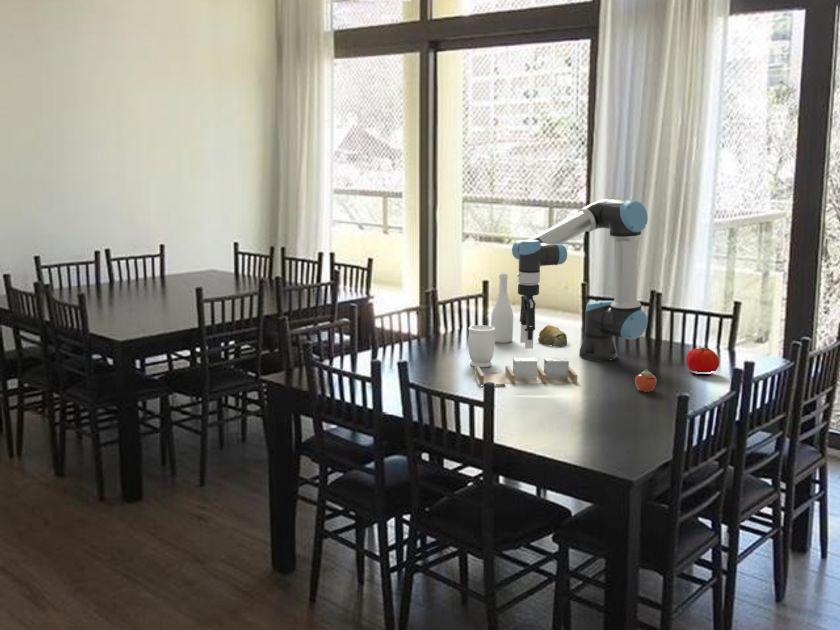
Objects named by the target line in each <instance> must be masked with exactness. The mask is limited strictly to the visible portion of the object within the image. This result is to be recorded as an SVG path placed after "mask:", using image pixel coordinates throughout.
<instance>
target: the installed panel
mask: <svg viewBox="0 0 840 630" xmlns="http://www.w3.org/2000/svg"><path fill="white" fill-rule="evenodd" d="M543 360H544V361H543V362H544V363H543V372H544V373H545V374H546V380H568V368H569V367H570V366H569V365H570V364H569V362H570V361H569V360H568V359H567V357H560V358H559V357H557V358H556V357H553V358H552V357H550V358H549V357H548V358H544V359H543Z"/></svg>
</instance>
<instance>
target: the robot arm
mask: <svg viewBox="0 0 840 630" xmlns="http://www.w3.org/2000/svg"><path fill="white" fill-rule="evenodd" d="M648 219H649V218H648V211H647V209H646V207H645V206H644V205H643V204H642V202H640V201H637V200H632V199H623V198H622V199H621V198H608V197H607V198H603V199H600V200H597V201H594V202H592V203H590V204H588V205H586V206H584V207H582V208H580V209H578V211H577V214H575V215H574V214H573V216H571V217H568V218H566V219H565V220H562V221H561V222H559V223H557V224H555V225H553V226H552V227H550V228H547V229H546V230H544V231H541V232H540V233H538V234H536V235H534V236H532V237H531V238H529V239H521V240H520V239H519V240H517V241H515V242H514V243H513V245H512V246H511V247H512V248H511V254H512V256H513V257H514V259H516V260H518V273H517V274H516V277H517V278H518V285H517V294H518V295H520V296H521V297H520V303H521V304H520V315H519V323H520V336H519V337H520V339H519V340H520V342H519V343H521V344H522V343H523V344H524V349H526V350H527V349H534V331H535V330H536V301H535V299H534V297H535V296H538V295H539V294H540V284H539V283H540V279H541V277H540V276H541V267H543V266H545V267H546V266H558V265H563V264H564V263H565V262H566V261H567V260H568V259H567V258H568V250H567V248H566V246H565V245H563V244H565V243H567V242H568V241H570V240H572V239H574V238H575V237H578V236H580V235H581V234H583V233H585V232H589V233H590V232H593V231H594V230H599V229H609V236H610V237H611V238H612V240H613V258H614V259H613V271H614V275H613V277H614V279H613V281H614V284H613V288H614V297H613V298H614V300H594V301H589V302H587V303H586V307H585V312H584V313H585V314H584V317H585V318H584V321H585V322H584V339H583V341H582V343H581V346H580V348H579V353H578V354H579V357H580V358H581V359H584V358H585V360H589V359H591V360H590V361H596V360H609V361H611V360H610V359H614V358H616V357H617V358H618V351H617V346H616V343H615V339H614V338H615V337H619V338H622V339H624V340H636V339H638V338H640V337H641V336H642V335H643V334H644V333H645V330H646V329H647V325H648V316H647V314H646V313H645V311H643V310H642V304H641V302H640V301H639V300H638V239H639V238H640V237H641V235H642V231H644V229H645V228H646V226H647V224H648ZM617 358H616V359H617ZM614 360H615V359H614Z"/></svg>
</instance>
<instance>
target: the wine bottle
mask: <svg viewBox="0 0 840 630" xmlns="http://www.w3.org/2000/svg"><path fill="white" fill-rule="evenodd" d="M498 278H499V285H498V287H499V288H498V293H497V294H498V295H497V297H496V300H495V303H494V306H493V309H492V310H491V311H492V312H491V315H490V316H491V317H490V319H491V320H490V324H491V325H490V326H492V327H494V328H495V331H494V337H495V343H498V344H508V343H512V341H513V337H514V336H513V335H514V334H513V333H514V313H513V308H512V306H511V302H510V299H509V296H508V295H509V294H508V278H509V274H508V273H506V272H500V273H499V275H498Z"/></svg>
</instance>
